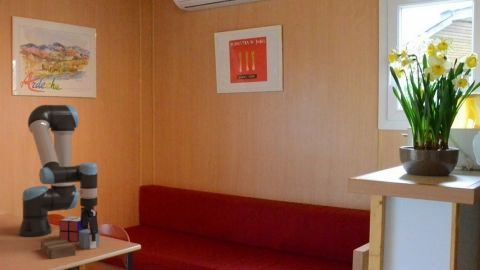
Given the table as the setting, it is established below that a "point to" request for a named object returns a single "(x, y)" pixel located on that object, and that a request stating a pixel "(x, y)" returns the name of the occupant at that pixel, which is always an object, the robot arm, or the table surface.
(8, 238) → the table surface
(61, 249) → the riser
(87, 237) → the block
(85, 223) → the robot arm
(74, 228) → the puzzle cube
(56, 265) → the table surface
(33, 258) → the table surface
